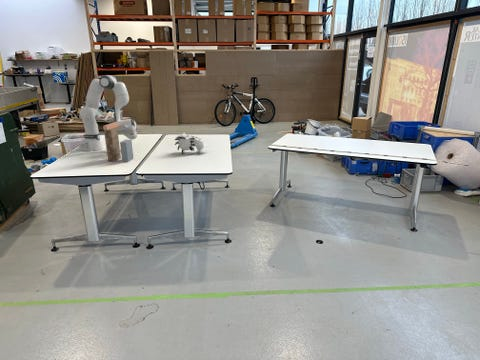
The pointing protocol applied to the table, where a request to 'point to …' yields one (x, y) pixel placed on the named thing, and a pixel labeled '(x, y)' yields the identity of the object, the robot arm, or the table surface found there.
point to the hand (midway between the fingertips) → (118, 124)
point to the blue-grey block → (126, 150)
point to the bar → (111, 125)
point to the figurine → (190, 143)
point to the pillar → (112, 144)
